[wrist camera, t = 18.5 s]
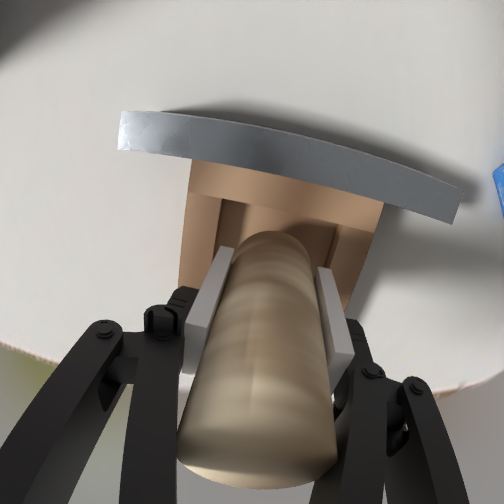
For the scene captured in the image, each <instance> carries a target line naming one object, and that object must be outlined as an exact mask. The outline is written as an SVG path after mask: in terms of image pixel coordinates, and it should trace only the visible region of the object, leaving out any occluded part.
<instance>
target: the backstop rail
mask: <svg viewBox="0 0 504 504" xmlns="http://www.w3.org/2000/svg"><path fill="white" fill-rule="evenodd" d="M117 149H122V150H131V151H140V152H148V153H155V154H163V155H170V156H177V157H183V158H190V159H196V160H202V161H208V162H214V163H219V164H225V165H230V166H236V167H241V168H246V169H251V170H256V171H261V172H266V173H270V174H275V175H280V176H284V177H288V178H293V179H297V180H301V181H306V182H310V183H314V184H318V185H322V186H326V187H330V188H334V189H338V190H341V191H345V192H349V193H353V194H356V195H360V196H363V197H367V198H370V199H374V200H377V201H381V202H384V203H387V204H391V205H394V206H397V207H401V208H404V209H407V210H410V211H413V212H416V213H419V214H422V215H425V216H428V217H431V218H434V219H437V220H440V221H443V222H446V223H449V224H451V225H452V223H453V221H454V218H455V215H456V212H457V209H458V206H459V203H460V200H461V197H462V193H463V190H461V189H459V188H457V187H455V186H453V185H451V184H449V183H446V182H444V181H442V180H440V179H438V178H435V177H433V176H431V175H429V174H426V173H424V172H421V171H418V170H416V169H413V168H410V167H408V166H405V165H402V164H399V163H396V162H394V161H391V160H388V159H385V158H382V157H379V156H376V155H372V154H369V153H366V152H363V151H360V150H356V149H353V148H349V147H346V146H343V145H339V144H335V143H332V142H328V141H324V140H320V139H316V138H313V137H308V136H304V135H300V134H296V133H292V132H287V131H283V130H278V129H273V128H268V127H263V126H258V125H253V124H247V123H242V122H236V121H230V120H223V119H217V118H210V117H203V116H195V115H187V114H178V113H168V112H154V111H122V114H121V122H120V130H119V139H118V148H117Z"/></svg>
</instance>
